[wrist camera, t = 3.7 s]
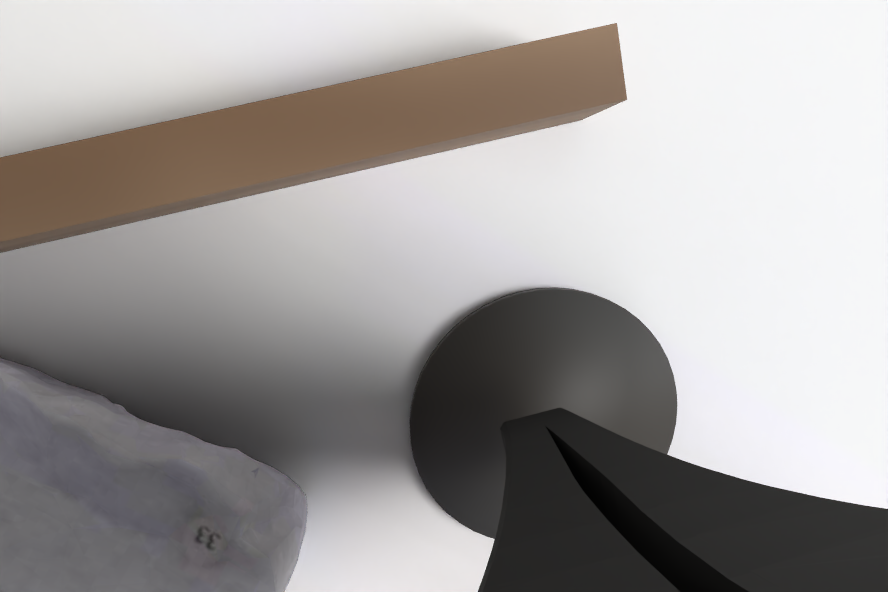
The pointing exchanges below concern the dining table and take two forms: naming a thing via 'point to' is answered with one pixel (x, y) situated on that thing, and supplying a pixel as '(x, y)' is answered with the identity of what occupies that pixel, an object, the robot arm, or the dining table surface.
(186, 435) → the stone block
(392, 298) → the dining table surface
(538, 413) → the robot arm
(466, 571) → the dining table surface
